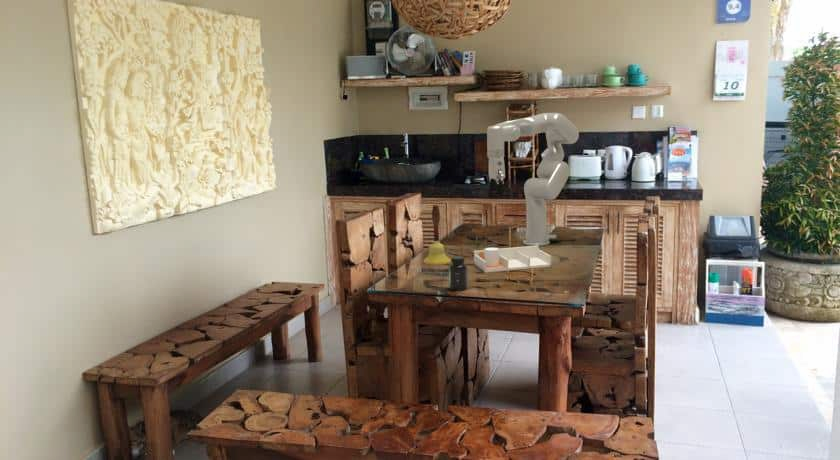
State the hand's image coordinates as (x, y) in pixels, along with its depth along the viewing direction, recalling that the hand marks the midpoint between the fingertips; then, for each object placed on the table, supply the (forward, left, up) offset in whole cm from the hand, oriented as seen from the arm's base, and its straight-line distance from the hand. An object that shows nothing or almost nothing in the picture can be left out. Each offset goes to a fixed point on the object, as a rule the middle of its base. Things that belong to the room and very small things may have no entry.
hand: (496, 191), depth 322 cm
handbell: (+30, +6, -29) cm, 42 cm away
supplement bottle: (+33, +52, -28) cm, 68 cm away
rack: (+2, +26, -28) cm, 38 cm away
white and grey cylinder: (+11, +26, -27) cm, 40 cm away
